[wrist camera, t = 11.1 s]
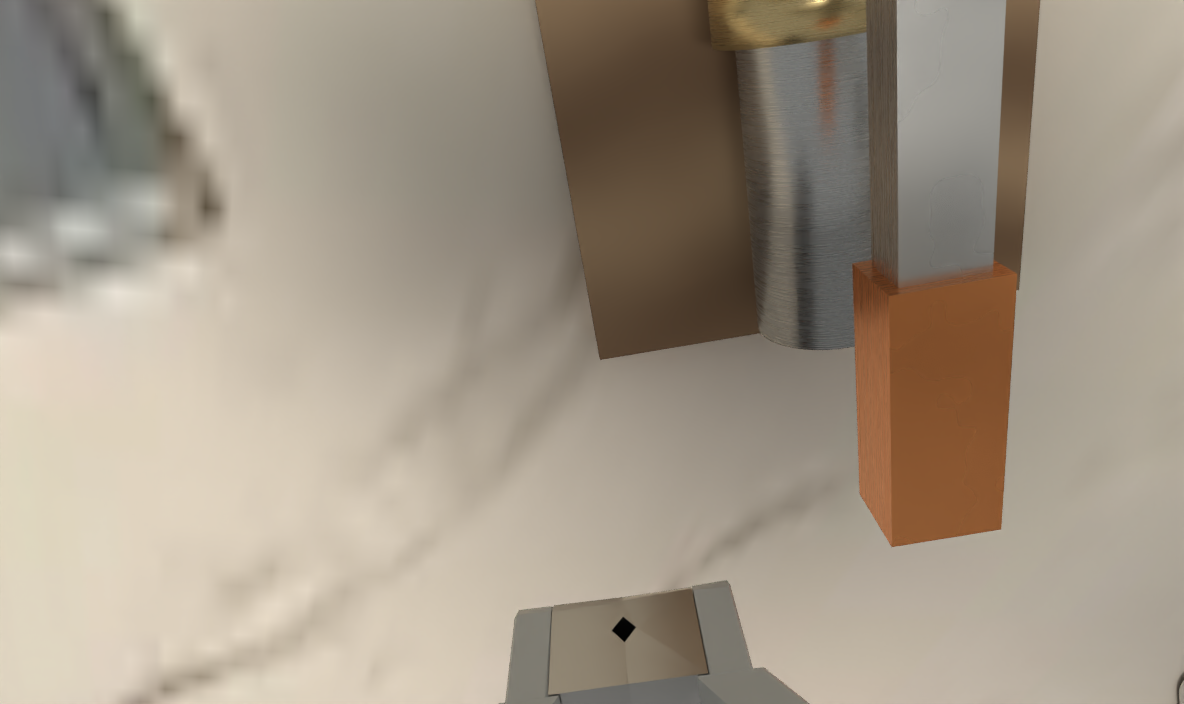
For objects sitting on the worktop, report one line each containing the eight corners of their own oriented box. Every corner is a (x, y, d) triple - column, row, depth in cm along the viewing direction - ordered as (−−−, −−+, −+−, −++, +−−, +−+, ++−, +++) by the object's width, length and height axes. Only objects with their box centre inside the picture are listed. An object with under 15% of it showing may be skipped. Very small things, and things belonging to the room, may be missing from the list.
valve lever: (804, -378, 12) (849, -449, 10) (1013, -423, 12) (1096, -501, 10) (843, 496, 19) (873, 549, 17) (974, 475, 19) (1019, 526, 17)
